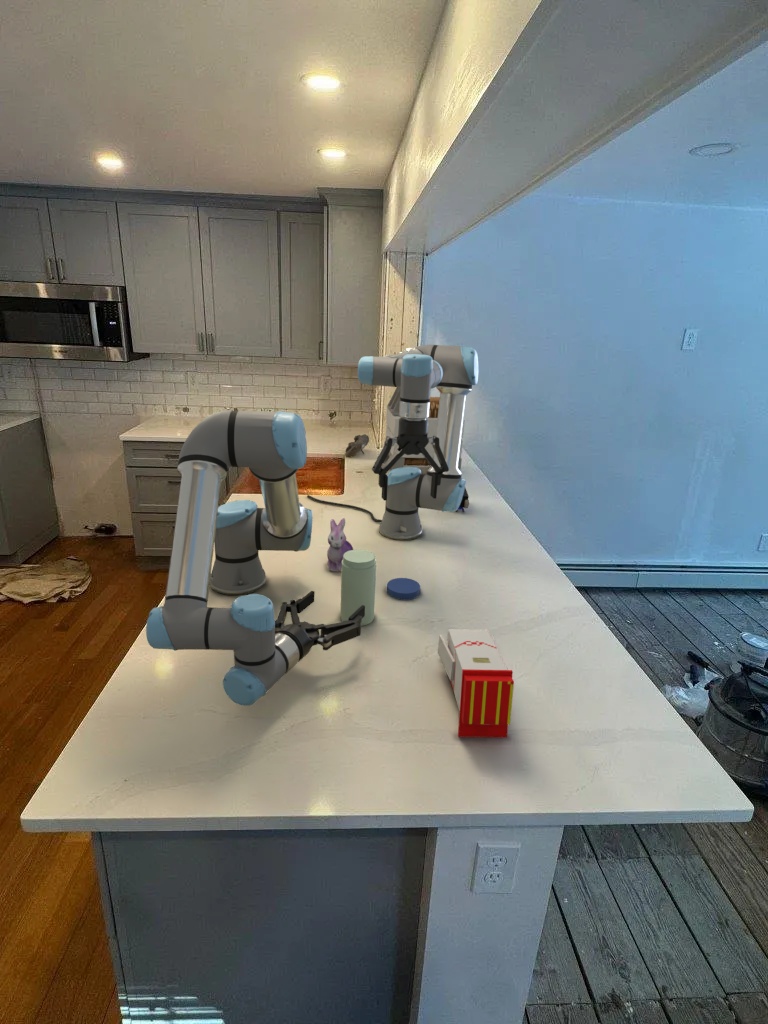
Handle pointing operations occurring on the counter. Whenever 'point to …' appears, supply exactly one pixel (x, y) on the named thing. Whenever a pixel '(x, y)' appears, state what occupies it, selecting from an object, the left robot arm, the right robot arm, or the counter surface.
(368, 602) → the jar
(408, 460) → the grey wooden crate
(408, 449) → the right robot arm
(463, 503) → the figurine character
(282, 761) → the counter surface
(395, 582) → the lid
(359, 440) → the grey animal figure
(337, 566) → the figurine
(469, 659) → the toy
